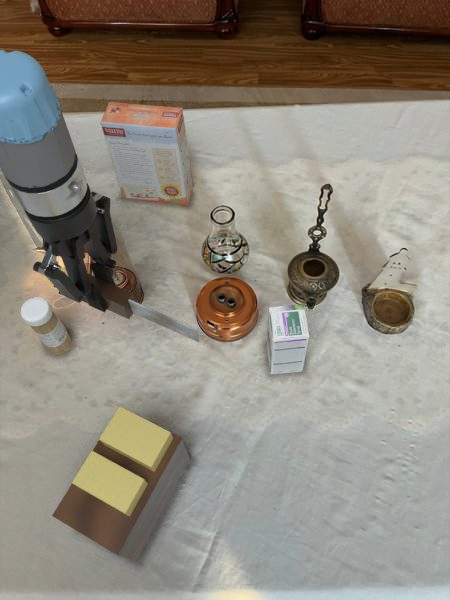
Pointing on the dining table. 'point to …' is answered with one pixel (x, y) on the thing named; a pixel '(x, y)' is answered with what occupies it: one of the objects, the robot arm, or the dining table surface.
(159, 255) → the dining table surface
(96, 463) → the butter slice
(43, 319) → the sprinkles bottle
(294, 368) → the syrup box
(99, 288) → the knife
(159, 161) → the cracker box
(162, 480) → the butter stand
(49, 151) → the robot arm
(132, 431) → the butter block
